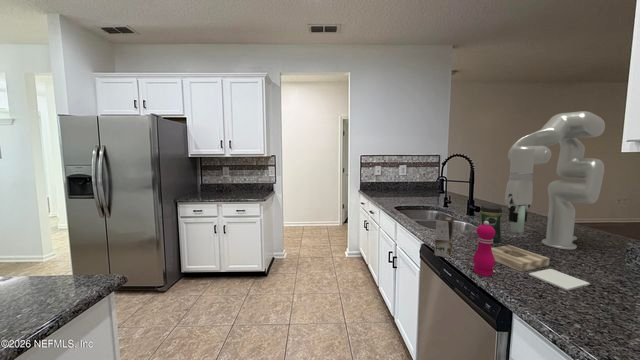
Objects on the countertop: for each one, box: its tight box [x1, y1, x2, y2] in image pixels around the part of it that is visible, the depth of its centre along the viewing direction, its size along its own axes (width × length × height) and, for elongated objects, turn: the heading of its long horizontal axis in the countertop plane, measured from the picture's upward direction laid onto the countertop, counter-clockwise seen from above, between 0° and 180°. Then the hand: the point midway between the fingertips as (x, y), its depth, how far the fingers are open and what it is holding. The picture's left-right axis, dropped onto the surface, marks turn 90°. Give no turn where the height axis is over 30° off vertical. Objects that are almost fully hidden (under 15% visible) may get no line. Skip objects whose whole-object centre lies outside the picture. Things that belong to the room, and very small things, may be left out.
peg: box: [509, 203, 526, 234], centre depth 110 cm, size 4×4×11 cm
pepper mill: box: [472, 221, 496, 277], centre depth 101 cm, size 7×7×20 cm
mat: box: [528, 268, 591, 292], centre depth 96 cm, size 12×12×1 cm
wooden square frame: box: [491, 244, 550, 272], centre depth 112 cm, size 16×16×3 cm
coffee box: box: [434, 215, 455, 259], centre depth 120 cm, size 9×6×16 cm
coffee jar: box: [479, 203, 503, 243], centre depth 137 cm, size 10×8×19 cm
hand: (517, 220), depth 110 cm, fingers closed on peg, 4 cm apart
